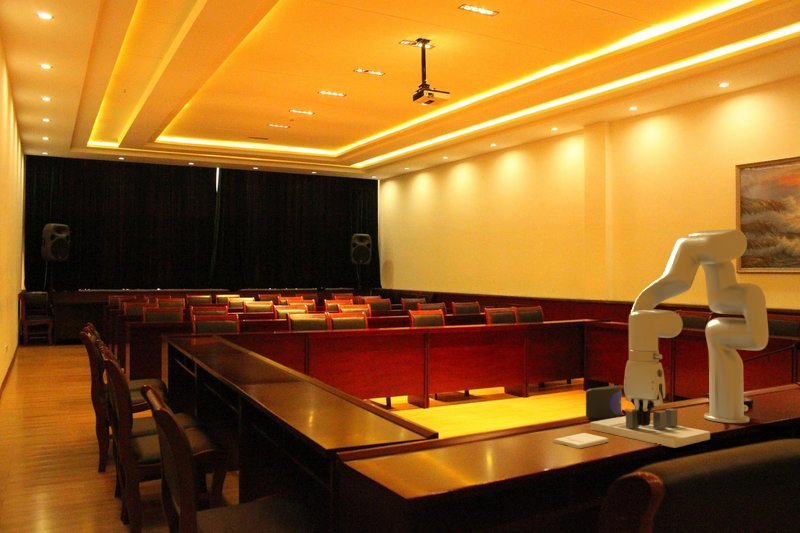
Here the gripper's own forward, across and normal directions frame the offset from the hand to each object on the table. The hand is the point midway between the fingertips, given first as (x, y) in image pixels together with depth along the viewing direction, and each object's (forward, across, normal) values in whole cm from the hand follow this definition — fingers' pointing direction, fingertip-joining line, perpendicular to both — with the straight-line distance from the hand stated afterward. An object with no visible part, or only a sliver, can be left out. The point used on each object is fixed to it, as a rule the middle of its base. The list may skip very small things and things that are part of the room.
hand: (643, 424), depth 175 cm
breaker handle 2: (+1, -1, -11) cm, 11 cm away
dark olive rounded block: (+4, +24, -16) cm, 29 cm away
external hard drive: (+4, +7, +18) cm, 20 cm away
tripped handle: (+1, +4, 0) cm, 4 cm away
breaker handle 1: (+1, -1, -5) cm, 6 cm away
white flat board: (+4, +2, -6) cm, 7 cm away
